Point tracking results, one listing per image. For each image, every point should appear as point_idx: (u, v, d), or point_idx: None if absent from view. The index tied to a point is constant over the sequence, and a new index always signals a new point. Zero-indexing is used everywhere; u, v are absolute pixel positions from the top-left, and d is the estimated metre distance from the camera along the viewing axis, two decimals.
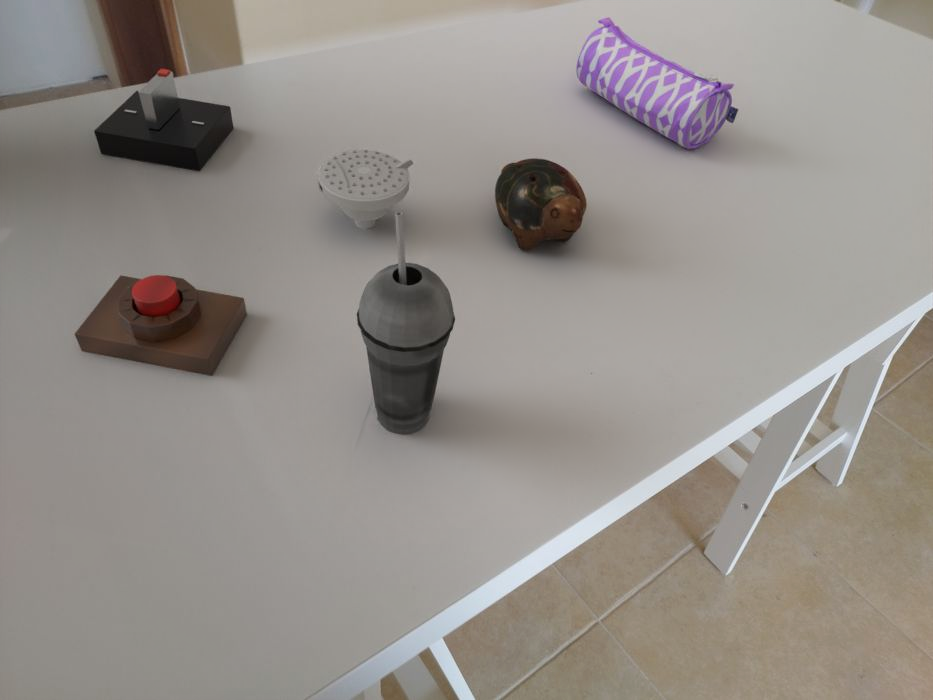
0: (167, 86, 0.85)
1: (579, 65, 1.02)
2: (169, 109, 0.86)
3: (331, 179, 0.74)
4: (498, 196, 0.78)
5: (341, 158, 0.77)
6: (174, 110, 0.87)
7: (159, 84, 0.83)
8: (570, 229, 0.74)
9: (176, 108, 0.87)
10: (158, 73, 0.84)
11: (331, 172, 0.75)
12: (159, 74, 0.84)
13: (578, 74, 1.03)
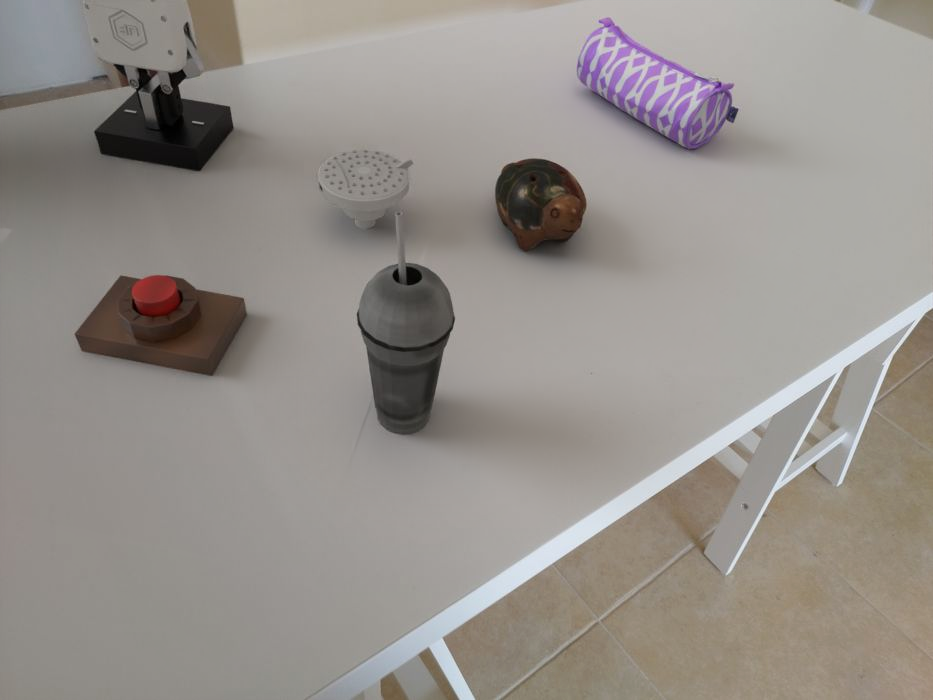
0: None
1: (580, 65, 1.02)
2: None
3: (331, 180, 0.74)
4: (498, 196, 0.78)
5: (341, 158, 0.77)
6: None
7: (159, 84, 0.83)
8: (570, 229, 0.74)
9: None
10: None
11: (331, 172, 0.75)
12: None
13: (578, 74, 1.03)
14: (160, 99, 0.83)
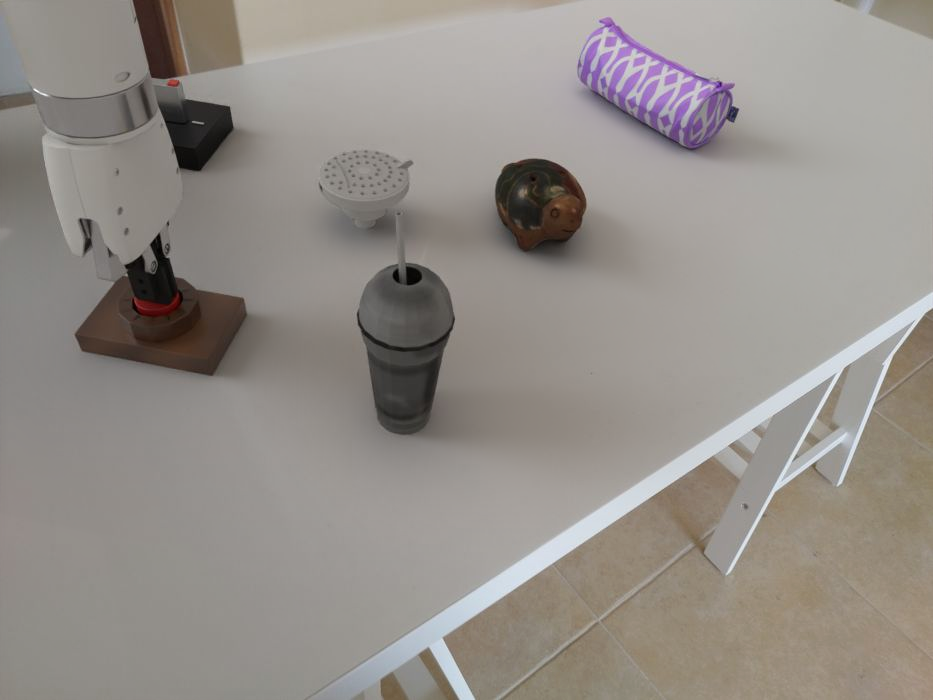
0: (163, 93, 0.83)
1: (580, 64, 1.02)
2: (162, 113, 0.85)
3: (331, 179, 0.74)
4: (498, 196, 0.78)
5: (341, 158, 0.77)
6: (172, 119, 0.86)
7: None
8: (570, 229, 0.74)
9: (176, 120, 0.86)
10: (170, 80, 0.83)
11: (331, 172, 0.75)
12: (169, 81, 0.83)
13: (579, 74, 1.03)
14: None
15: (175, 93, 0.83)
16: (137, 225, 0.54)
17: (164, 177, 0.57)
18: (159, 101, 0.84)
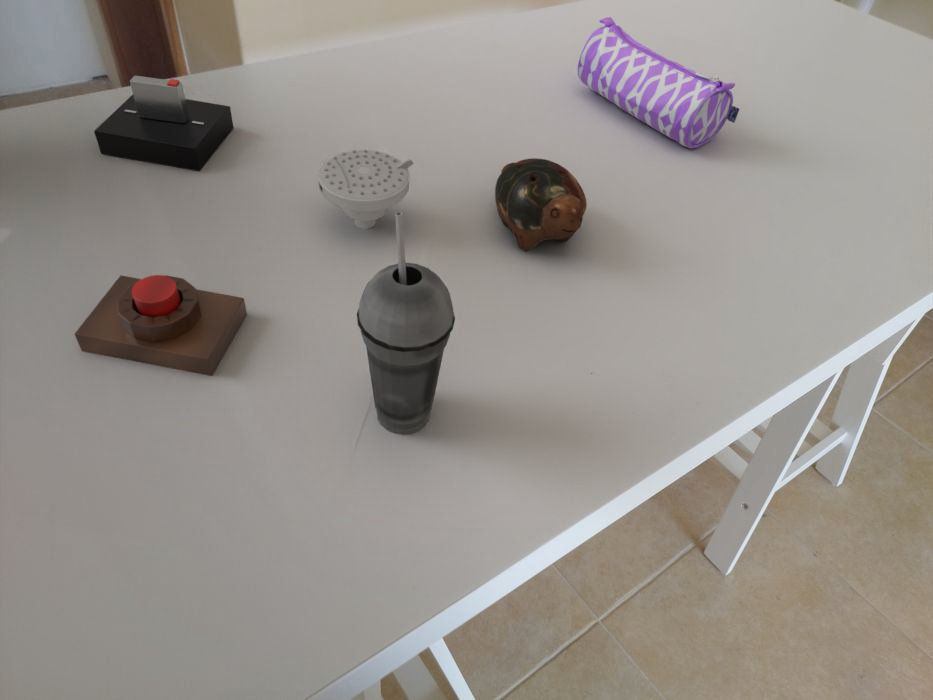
0: (163, 93, 0.83)
1: (581, 64, 1.02)
2: (162, 113, 0.85)
3: (331, 179, 0.74)
4: (498, 196, 0.78)
5: (341, 158, 0.77)
6: (172, 119, 0.86)
7: (149, 83, 0.83)
8: (570, 229, 0.74)
9: (176, 120, 0.86)
10: (170, 80, 0.83)
11: (331, 172, 0.75)
12: (169, 81, 0.83)
13: (579, 74, 1.03)
14: None
15: (175, 93, 0.83)
16: None
17: None
18: (159, 101, 0.84)
